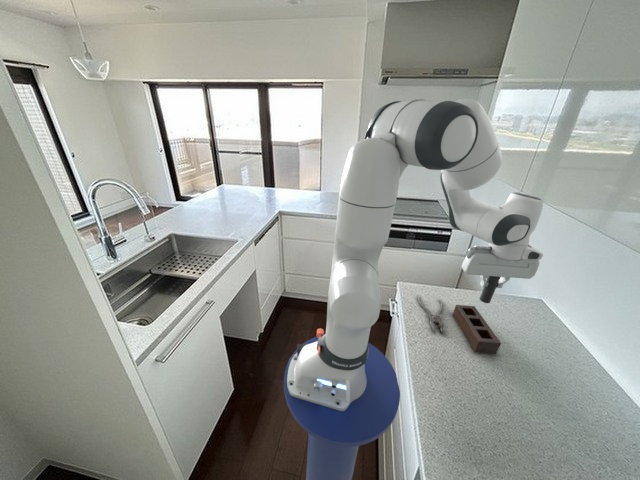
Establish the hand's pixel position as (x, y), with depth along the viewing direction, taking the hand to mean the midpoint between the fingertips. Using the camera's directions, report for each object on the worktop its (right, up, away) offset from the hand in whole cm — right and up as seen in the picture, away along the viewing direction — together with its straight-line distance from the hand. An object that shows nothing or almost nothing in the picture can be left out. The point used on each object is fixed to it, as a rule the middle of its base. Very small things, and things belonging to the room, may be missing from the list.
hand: (490, 286), depth 81 cm
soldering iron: (0, -5, +2) cm, 6 cm away
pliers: (-9, -14, +18) cm, 25 cm away
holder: (0, -18, +10) cm, 21 cm away
